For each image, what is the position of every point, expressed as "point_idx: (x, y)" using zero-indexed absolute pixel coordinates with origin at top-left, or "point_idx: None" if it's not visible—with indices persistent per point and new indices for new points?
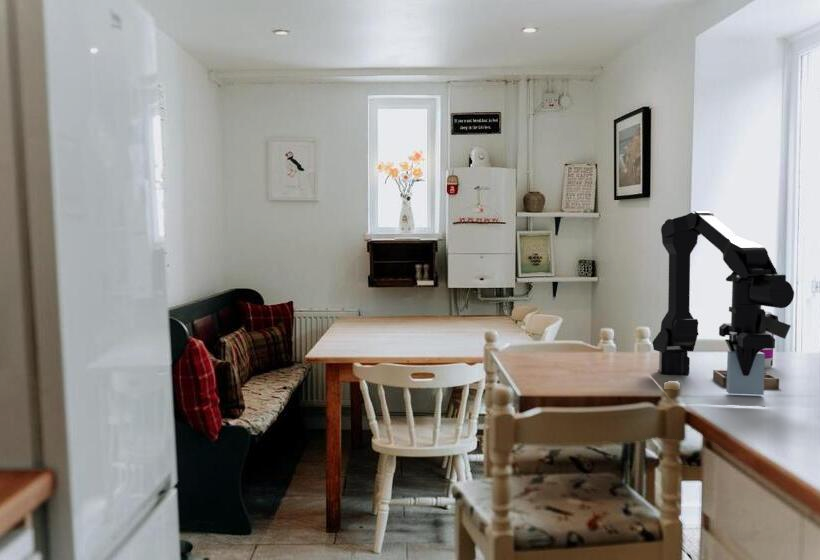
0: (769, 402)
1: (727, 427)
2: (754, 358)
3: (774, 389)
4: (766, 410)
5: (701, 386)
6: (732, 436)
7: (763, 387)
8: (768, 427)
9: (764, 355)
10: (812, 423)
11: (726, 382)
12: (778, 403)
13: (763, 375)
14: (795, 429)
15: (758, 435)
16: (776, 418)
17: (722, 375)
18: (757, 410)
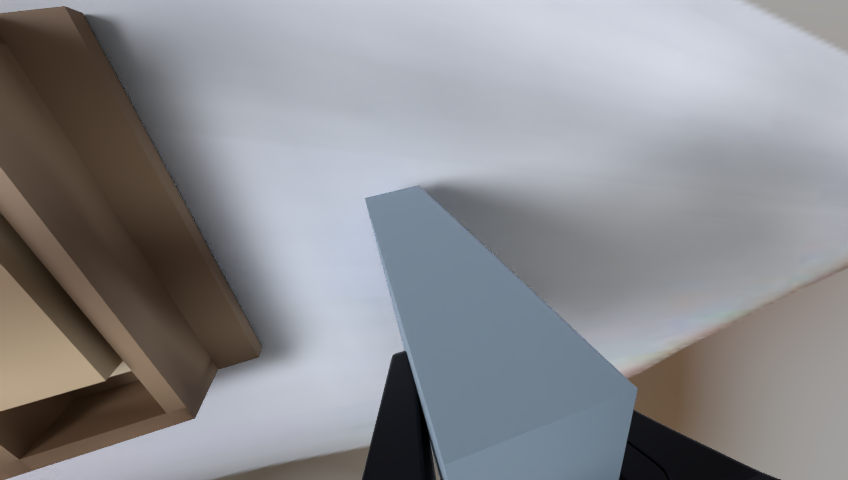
0: (460, 154)
1: (763, 292)
2: (652, 420)
3: (86, 70)
4: (608, 184)
5: (208, 436)
6: (820, 279)
7: (430, 198)
8: (787, 198)
9: (606, 365)
10: (788, 29)
11: (200, 376)
12: (471, 109)
13: (462, 230)
14: (825, 119)
15: (833, 227)
16: (710, 161)
17: (119, 433)
18: (609, 217)
